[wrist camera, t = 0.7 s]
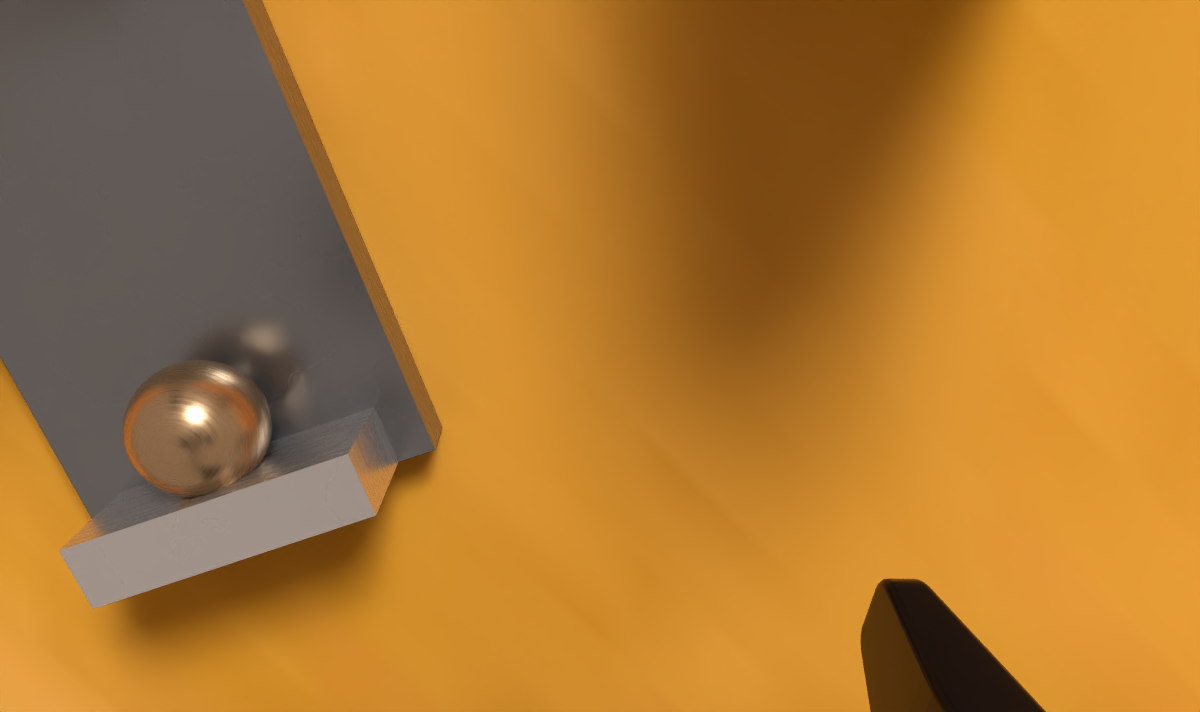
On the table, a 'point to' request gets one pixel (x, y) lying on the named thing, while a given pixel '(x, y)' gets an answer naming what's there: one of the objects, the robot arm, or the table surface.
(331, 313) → the nutcracker bench
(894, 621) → the robot arm
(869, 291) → the table surface
